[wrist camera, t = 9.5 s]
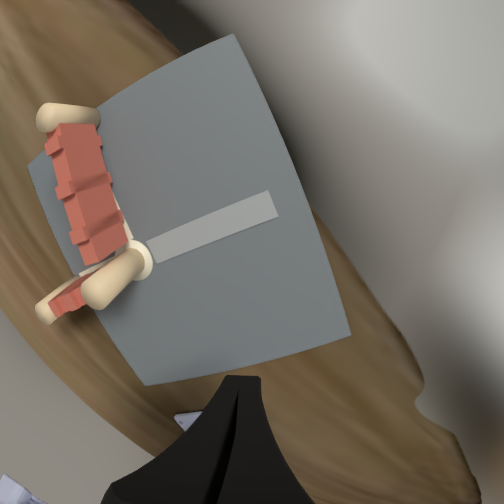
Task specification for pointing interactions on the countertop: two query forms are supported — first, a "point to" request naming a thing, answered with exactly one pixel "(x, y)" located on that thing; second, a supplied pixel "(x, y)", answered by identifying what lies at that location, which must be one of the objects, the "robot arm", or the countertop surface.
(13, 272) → the countertop surface
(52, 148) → the fence panel
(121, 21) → the countertop surface
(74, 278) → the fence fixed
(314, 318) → the board
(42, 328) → the countertop surface
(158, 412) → the countertop surface
